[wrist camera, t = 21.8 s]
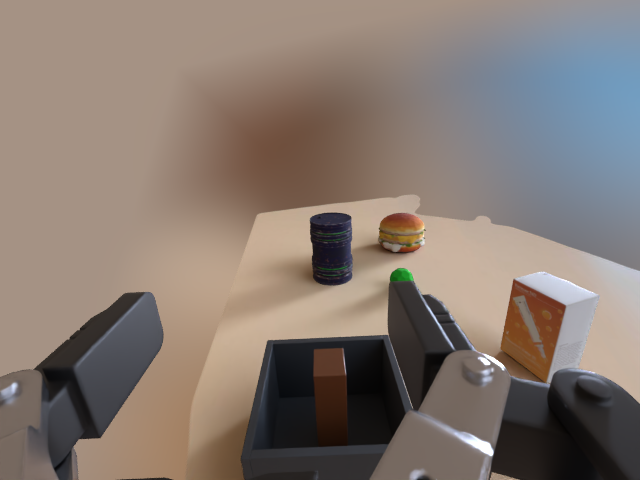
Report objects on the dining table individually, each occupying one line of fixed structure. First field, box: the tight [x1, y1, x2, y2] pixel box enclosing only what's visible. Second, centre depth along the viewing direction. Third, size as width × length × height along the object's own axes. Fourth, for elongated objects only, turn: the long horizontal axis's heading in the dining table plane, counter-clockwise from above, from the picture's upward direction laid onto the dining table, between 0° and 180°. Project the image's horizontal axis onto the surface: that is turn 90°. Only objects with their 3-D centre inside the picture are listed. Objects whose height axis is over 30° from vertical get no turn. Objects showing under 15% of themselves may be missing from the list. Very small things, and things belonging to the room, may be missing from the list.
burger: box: [378, 213, 426, 252], centre depth 94 cm, size 14×14×10 cm
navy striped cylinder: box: [310, 213, 353, 285], centre depth 77 cm, size 10×10×15 cm
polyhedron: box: [390, 268, 413, 282], centre depth 71 cm, size 5×5×5 cm
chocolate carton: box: [313, 348, 348, 447], centre depth 35 cm, size 3×4×12 cm
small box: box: [500, 272, 600, 384], centre depth 47 cm, size 8×6×13 cm
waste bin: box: [241, 335, 412, 480], centre depth 36 cm, size 16×16×10 cm
